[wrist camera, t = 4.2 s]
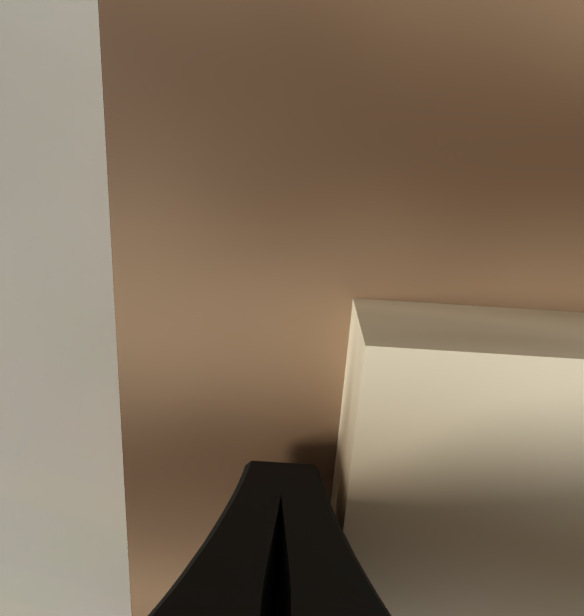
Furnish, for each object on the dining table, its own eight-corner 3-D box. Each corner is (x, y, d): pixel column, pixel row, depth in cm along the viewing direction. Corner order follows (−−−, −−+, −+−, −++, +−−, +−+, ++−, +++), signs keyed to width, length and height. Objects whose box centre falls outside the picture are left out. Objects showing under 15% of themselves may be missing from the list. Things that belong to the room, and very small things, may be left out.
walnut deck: (483, 655, 18) (525, 783, 14) (169, 637, 17) (139, 760, 14) (647, 27, 11) (789, -3, 8) (155, -6, 11) (94, -51, 8)
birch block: (668, 650, 13) (732, 747, 11) (317, 629, 12) (320, 723, 11) (805, 326, 10) (926, 381, 8) (353, 297, 10) (364, 345, 8)
